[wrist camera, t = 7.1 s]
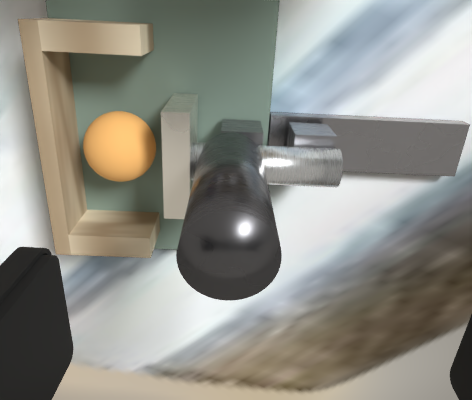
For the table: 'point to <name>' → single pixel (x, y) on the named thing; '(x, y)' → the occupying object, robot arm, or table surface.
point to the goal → (67, 139)
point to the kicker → (235, 194)
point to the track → (385, 142)
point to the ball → (119, 146)
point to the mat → (172, 81)
